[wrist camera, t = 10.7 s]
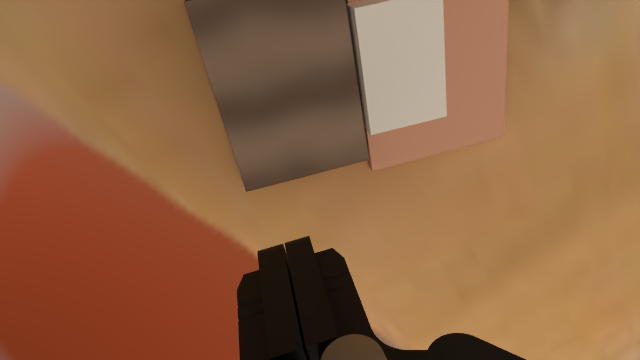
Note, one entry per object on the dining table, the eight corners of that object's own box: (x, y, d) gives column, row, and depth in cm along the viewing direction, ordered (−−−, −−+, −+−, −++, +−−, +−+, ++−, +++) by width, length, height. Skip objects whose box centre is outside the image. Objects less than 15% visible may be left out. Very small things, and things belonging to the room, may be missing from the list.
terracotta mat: (334, -70, 28) (337, -71, 27) (503, -107, 29) (512, -109, 28) (369, 166, 37) (372, 171, 36) (497, 132, 38) (504, 136, 37)
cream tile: (345, 4, 29) (354, 8, 27) (427, -15, 30) (442, -12, 28) (361, 123, 34) (370, 135, 32) (433, 105, 34) (446, 116, 32)
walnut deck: (187, -2, 28) (184, 2, 26) (332, -35, 29) (340, -34, 27) (245, 177, 35) (246, 191, 33) (360, 147, 36) (368, 159, 34)
